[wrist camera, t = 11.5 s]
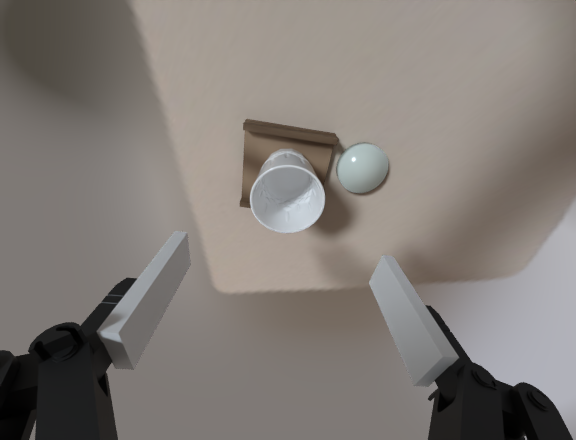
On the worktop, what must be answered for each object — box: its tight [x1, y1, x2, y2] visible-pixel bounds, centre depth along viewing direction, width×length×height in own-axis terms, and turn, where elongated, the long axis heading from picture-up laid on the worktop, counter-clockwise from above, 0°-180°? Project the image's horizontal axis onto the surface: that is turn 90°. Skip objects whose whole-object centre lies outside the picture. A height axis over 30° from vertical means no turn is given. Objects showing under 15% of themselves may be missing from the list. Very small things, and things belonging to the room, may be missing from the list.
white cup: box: [250, 149, 325, 233], centre depth 27 cm, size 8×8×10 cm
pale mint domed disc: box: [336, 142, 389, 193], centre depth 31 cm, size 7×7×2 cm
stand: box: [240, 119, 338, 208], centre depth 31 cm, size 12×12×3 cm
